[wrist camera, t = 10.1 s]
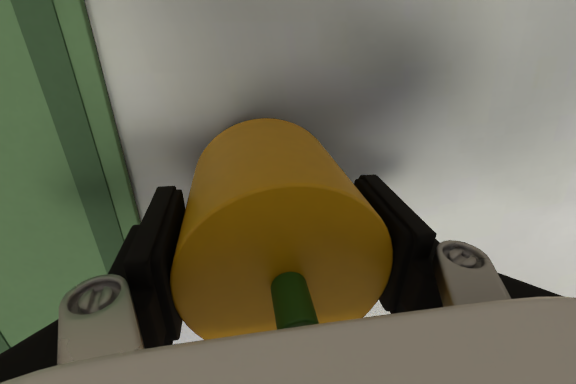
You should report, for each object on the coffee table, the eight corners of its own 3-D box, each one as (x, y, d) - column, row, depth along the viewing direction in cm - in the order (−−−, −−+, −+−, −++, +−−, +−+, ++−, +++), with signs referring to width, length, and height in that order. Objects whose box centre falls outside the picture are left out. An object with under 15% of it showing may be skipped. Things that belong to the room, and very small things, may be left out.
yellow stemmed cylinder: (183, 119, 12) (122, 238, 5) (337, 115, 12) (459, 210, 6) (202, 247, 14) (179, 429, 8) (326, 236, 15) (398, 389, 9)
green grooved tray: (-408, -168, 7) (-449, -181, 7) (52, -124, 9) (43, -132, 8) (-21, 353, 17) (-27, 361, 16) (167, 328, 18) (166, 335, 18)
